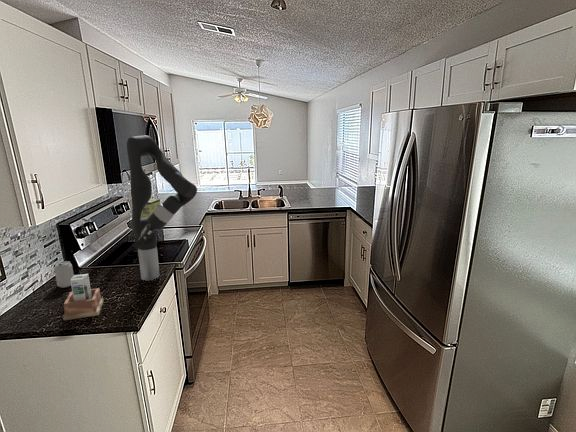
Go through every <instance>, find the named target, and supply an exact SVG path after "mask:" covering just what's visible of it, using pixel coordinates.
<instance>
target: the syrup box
mask: <svg viewBox="0 0 576 432" xmlns="http://www.w3.org/2000/svg"><path fill="white" fill-rule="evenodd" d="M70 287H71V292H73V298H74V301H81V300H88V299H92V294H91V289H92V288H91V282H90V277H89V273H84V274H74V276H73V277H72V279H71V286H70Z"/></svg>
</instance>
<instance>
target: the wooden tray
mask: <svg viewBox="0 0 576 432" xmlns="http://www.w3.org/2000/svg"><path fill="white" fill-rule="evenodd" d="M91 294H92V299H88V300H81V301H74V298H73V292H72V291H70V292H69V294H68V295H67V298H66V299H65V301H64V303H63V309H64V315H63V317H62V319H63V321H69V320H76V319H81V318H82V319H83V318H87V317H88V318H89V317H94V316H99V315H100V313H101V309H102V306H103V304H104V297H101V290H100V287H98V288H91Z"/></svg>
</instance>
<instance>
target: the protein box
mask: <svg viewBox="0 0 576 432" xmlns="http://www.w3.org/2000/svg"><path fill="white" fill-rule="evenodd" d="M160 205H161V198H160V199H159V198H150V200H149V201H148V203H147V204H146V206H145V207H144V209H143V211H142V213H141V218H144V217H149V216H150V215H151V214H152V213H153V212H154V211H155V210H156V209H157V208H158V207H159V206H160Z"/></svg>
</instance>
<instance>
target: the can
mask: <svg viewBox="0 0 576 432" xmlns="http://www.w3.org/2000/svg"><path fill="white" fill-rule="evenodd" d="M73 268H74V267H73V264H72V263H71V261H69V260H68V261H67V260H65V261H59V262H57V263H55V265H54V267H53V269H54V275H55V280H56V281H55V282H56V284H57V287H58V288H69V287H71V279H72V277H73V276H74V275H75V274H74V269H73Z"/></svg>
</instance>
